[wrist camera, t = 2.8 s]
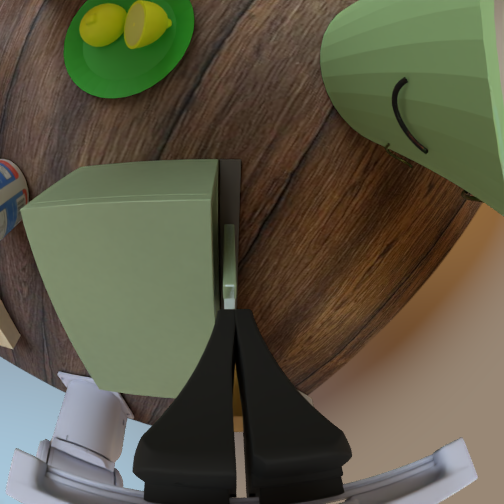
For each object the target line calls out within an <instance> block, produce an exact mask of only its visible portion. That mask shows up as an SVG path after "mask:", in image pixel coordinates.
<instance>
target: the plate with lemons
mask: <svg viewBox="0 0 504 504" xmlns="http://www.w3.org/2000/svg"><path fill="white" fill-rule="evenodd" d="M193 30H194V13H193V7H192V5H191V3H190V0H87V1H86V2H85V3H84V5H83V6H82V7H81V8H80V9H79V11H78V12H77V14H76V15H75V16H74V18H73V20H72V22H71V24H70V26H69V28H68V31H67V34H66V38H65V42H64V61H65V66H66V69H67V71H68V74H69V76H70V77H71V79H72V80H73V82H74V83H75V84H76V85H77V86H78V87H79V88H81V89H82V90H83V91H85V92H87V93H89V94H91V95H94V96H97V97H101V98H121V97H127V96H131V95H134V94H137V93H140V92H142V91H144V90H146V89H148V88H150V87H152V86H153V85H155V84H156V83H157V82H159V81H160V80H162V79H163V78H164V77H165V76H166V75H167V74H168V73H169V72H171V71H172V70H173V69H174V68H175V66H176V65H177V64H178V62H179V61H180V60H181V58H182V57H183V56H184V54H185V52H186V50H187V48H188V46H189V44H190V41H191V37H192V34H193Z"/></svg>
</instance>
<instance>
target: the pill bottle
mask: <svg viewBox="0 0 504 504" xmlns="http://www.w3.org/2000/svg"><path fill="white" fill-rule="evenodd" d="M28 203H29V193H28V187H27V183H26V180H25V178H24V176H23V174H22V172H21V170H20V169H19V168H18V167H17V165H15V164H14V163H13V162H11V161H9V160H6V159H0V241H1V240H2V239H3V238H4V237H5V236H6V235H7V234H8V233H9V232H10V231H11V230H12V229H13V228H14V227H15V226H16V225H17V224H18V223H19V222H20V221H21V220H22V215H21V212H20V209H21V208H22V207H24V206H25V205H26V204H28Z"/></svg>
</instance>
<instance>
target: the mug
mask: <svg viewBox="0 0 504 504" xmlns="http://www.w3.org/2000/svg"><path fill="white" fill-rule="evenodd" d="M320 66H321V73H322V79H323V82H324V85H325V88H326V91H327V93H328V95H329V97H330V99H331V101H332V103H333V105H334V107H335V108H336V110H337V111H338V113H339V114H340V115H341V117H342V118H343V119H344V120H345V121H346V122H347V123H348V124H349V125H350V126H351V127H352V128H353V129H354V130H355V131H357V132H358V133H359V134H361V135H362V136H363V137H365V138H367V139H369V140H371V141H373V142H375V143H377V144H379V145H382V146H384V147H385V150H386V152H387V153H388V154H390V155H391V156H392V157H394V158H396V159H398V160H399V161H401V162H403V163H405V164H406V165H408V166H409V167H411V168H412V167H413V166H412V165H411V164H409V163H408V162H406V161H405V160H403V159H401V158H399V157H398V156H396V155H394V154H393V153H391V152H390V151H389V150H388V149H390V150H392V151H395V152H397V153H399V154H401V155H403V156H405V157H407V158H409V159H411V160H413V161H415V162H417V163H419V164H420V165H422V166H424V167H426V168H428V169H430V170H432V171H433V172H435V173H437V174H439V175H441V176H442V177H444V178H446V179H448V180H449V181H451V182H453V183H454V184H456V185H458V186H459V187H461V188H462V189H464V190H463V191H462V193H461V196H462V197H463V198H464V199H466V200H471V201H477V202H483V203H486V204H487V205H489V206H490V207H491V208H493V209H494V210H496V211H497V212H498V213H500V214H501V215H503V216H504V0H359V1H357V2H355V3H354V4H352V5H350V6H349V7H347V8H346V9H344V10H343V11H342V12H340V13H339V14H338V15H336V17H335V18H334V19H333V20H332V22H331V23H330V24H329V26H328V28H327V30H326V32H325V34H324V36H323V41H322V45H321V50H320ZM468 192H469V193H470V194H472V195H474V196H475V197H474V196H469V195H466V194H467V193H468Z"/></svg>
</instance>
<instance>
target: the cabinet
mask: <svg viewBox="0 0 504 504" xmlns="http://www.w3.org/2000/svg"><path fill="white" fill-rule="evenodd" d="M240 179H241V159H220V284H221V309H224V299H223V255H224V225H225V224H234V230H235V257H236V282H237V284H238V243H239V209H240ZM20 212H21V215H22V219H23V223H24V226H25V230H26V233H27V237H28V240H29V243H30V246H31V249H32V252H33V255H34V258H35V261H36V264H37V267H38V269H39V272H40V275H41V277H42V280H43V282H44V285H45V287H46V290H47V292H48V294H49V297H50V299H51V301H52V304H53V306H54V308H55V310H56V312H57V315H58V317H59V319H60V321H61V323H62V325H63V327H64V329H65V331H66V333H67V335H68V337H69V339H70V341H71V342H72V344H73V346H74V348H75V350H76V352H77V353H78V355H79V357H80V359H81V360H82V362H83V364H84V365H85V367H86V369H87V370H88V372H89V374H90V375H91V377H92V379H93V380H94V382H95V383H96V385H97V386H98V388H99V389H100V390H106V391H112V392H119V393H126V394H134V395H143V396H153V397H165V398H176V397H177V396H178V395H179V393H180V392H181V390H182V389H183V387H184V386H185V385H186V383H187V381H188V380H189V378H190V377H191V375H192V373H193V372H194V370H195V368H196V366H197V364H198V362H199V360H200V358H201V356H202V354H203V352H204V350H205V348H206V346H207V343H208V341H209V338H210V336H211V333H212V331H213V328H214V325H215V321H216V317H217V311H218V310H220V295H219V251H218V159H186V160H159V161H141V162H127V163H115V164H104V165H95V166H86V167H80V168H78V169H76V170H75V171H73V172H72V173H70V174H69V175H67V176H65V177H64V178H62V179H61V180H59V181H58V182H57V183H55V184H54V185H52V186H51V187H49V188H48V189H47V190H45V191H44V192H42V193H41V194H40V195H38V196H37V197H36V198H34V199H33V200H32V201H30V202H29V203H28V204H26V205H25V206H24V207H22V208H21V209H20ZM235 309H237V294H236V299H235Z"/></svg>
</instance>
